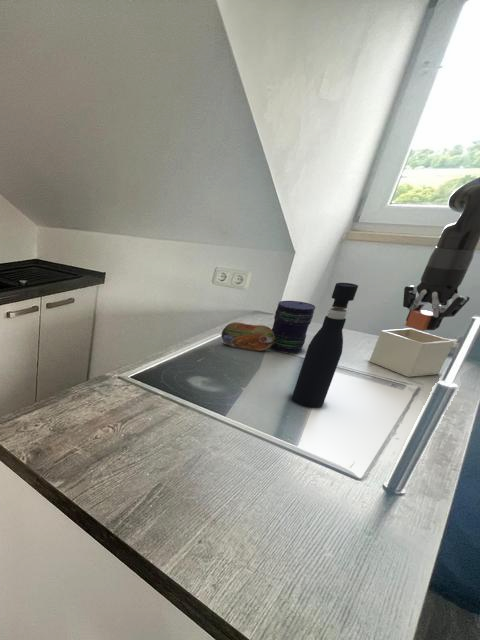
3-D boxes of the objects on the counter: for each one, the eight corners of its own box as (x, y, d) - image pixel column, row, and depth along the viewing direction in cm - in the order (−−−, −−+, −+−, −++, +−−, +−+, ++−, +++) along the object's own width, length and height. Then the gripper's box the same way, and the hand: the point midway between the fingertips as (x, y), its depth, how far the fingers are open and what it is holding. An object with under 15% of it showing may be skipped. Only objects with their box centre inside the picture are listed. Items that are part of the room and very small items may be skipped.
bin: (408, 376, 109) (423, 343, 105) (369, 361, 119) (381, 330, 114) (451, 372, 110) (468, 340, 106) (409, 357, 120) (423, 327, 116)
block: (418, 324, 111) (424, 309, 110) (435, 329, 107) (442, 314, 106) (404, 325, 111) (411, 310, 109) (422, 330, 107) (428, 315, 105)
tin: (219, 344, 134) (224, 321, 131) (220, 341, 136) (225, 318, 133) (270, 353, 126) (277, 329, 123) (271, 350, 128) (278, 326, 125)
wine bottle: (285, 398, 100) (322, 283, 88) (301, 393, 102) (339, 280, 90) (312, 410, 95) (355, 289, 82) (328, 404, 97) (372, 285, 85)
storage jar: (291, 356, 124) (305, 311, 118) (260, 346, 132) (271, 303, 126) (308, 349, 128) (322, 305, 122) (276, 340, 136) (288, 299, 130)
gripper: (494, 269, 96) (462, 334, 103) (428, 260, 109) (404, 318, 116) (468, 271, 95) (438, 336, 102) (405, 261, 108) (382, 320, 115)
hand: (420, 326), depth 109 cm, fingers closed on block, 4 cm apart
